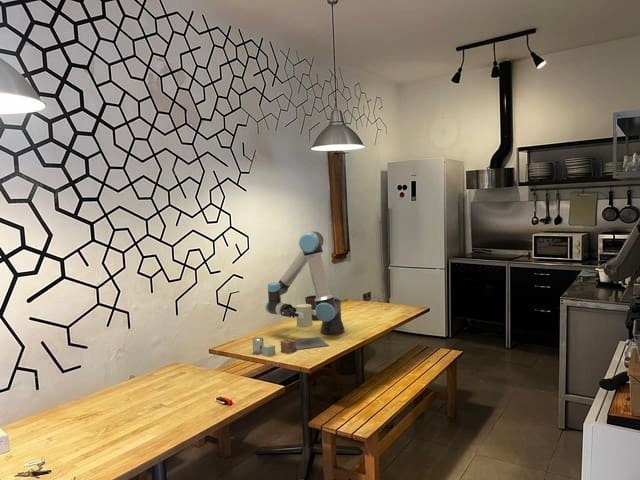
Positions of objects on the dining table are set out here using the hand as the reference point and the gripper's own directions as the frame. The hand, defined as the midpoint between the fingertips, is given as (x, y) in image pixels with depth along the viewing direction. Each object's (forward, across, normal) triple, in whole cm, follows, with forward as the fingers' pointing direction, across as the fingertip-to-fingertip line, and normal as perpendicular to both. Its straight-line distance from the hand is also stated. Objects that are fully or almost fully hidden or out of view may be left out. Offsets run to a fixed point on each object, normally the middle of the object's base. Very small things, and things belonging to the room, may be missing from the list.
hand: (309, 314), depth 268 cm
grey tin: (-11, +28, -18) cm, 35 cm away
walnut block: (0, +16, -18) cm, 24 cm away
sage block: (-4, +26, -18) cm, 32 cm away
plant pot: (-48, -48, -18) cm, 70 cm away
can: (-5, 0, -7) cm, 9 cm away
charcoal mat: (-4, -1, -18) cm, 18 cm away
